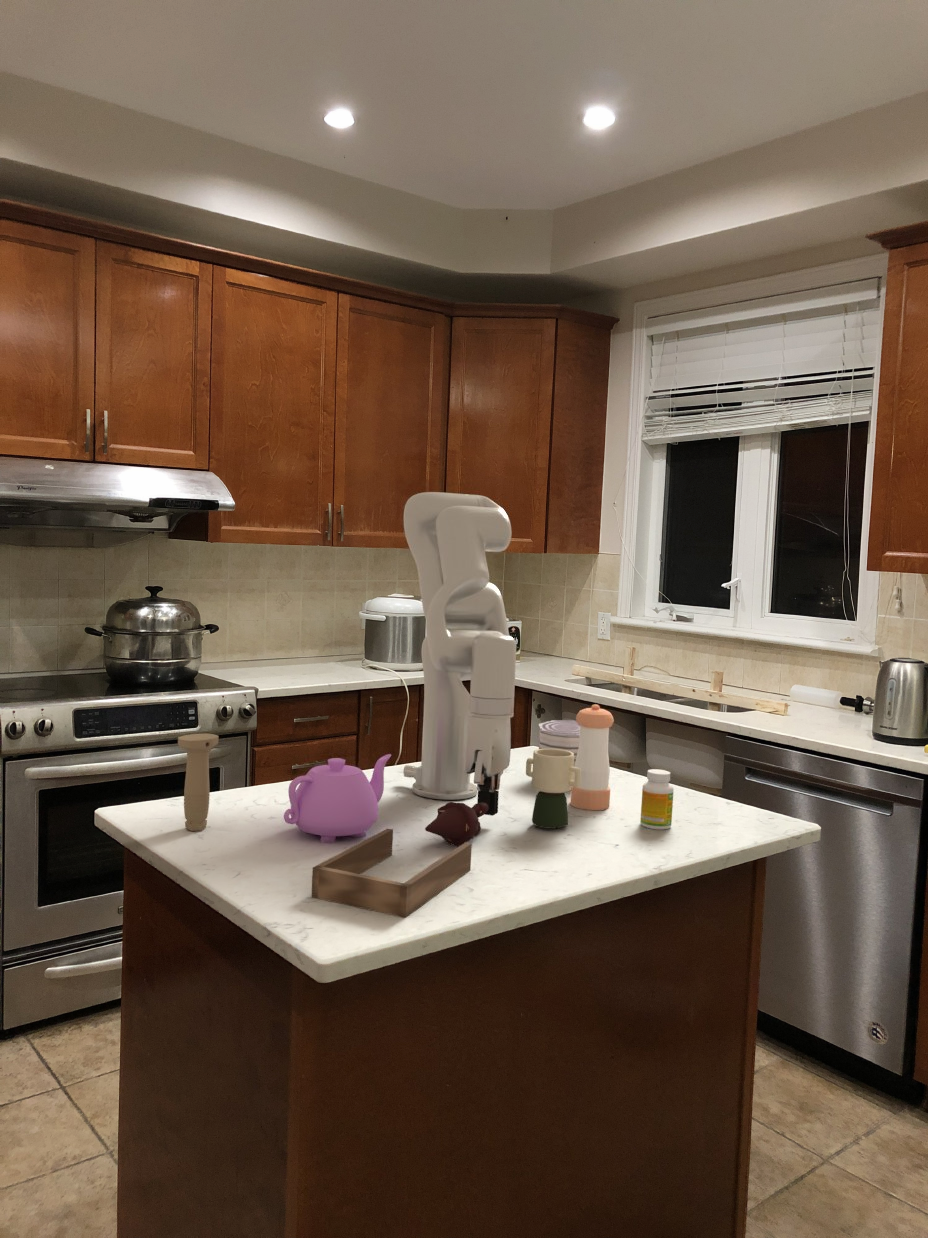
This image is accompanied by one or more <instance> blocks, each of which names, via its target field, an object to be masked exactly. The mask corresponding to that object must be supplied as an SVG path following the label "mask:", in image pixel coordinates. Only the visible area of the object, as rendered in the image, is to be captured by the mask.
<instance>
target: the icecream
mask: <svg viewBox="0 0 928 1238" xmlns="http://www.w3.org/2000/svg"><path fill="white" fill-rule="evenodd" d="M487 811H488V805H487V804H486V803H483V802H482V803H477V802H476V803H475V804H473V805H472V807H471V806H469V805H467V804H465V803H463V802H455V801H448V802H446V804H444V805H442V806H440V807H438V808H437V815H436V817H435V819H433V820H432V821H431V822H430V823H429V824H428V825H427V826H425V828H424V830H425V831H426V832H427V833H431V834H434V835H436V836H439V837H441V838H442V839H443V841H445V843H446V844H447V845H452V846H455V847H459V846H461V845H462V844H464V843H465V842H466V843H467V842H468V841H471V840H473V839H474V837H475V836H477V835H478V834H480V833H481V830H482V826H481V822H480V820H479V818H480V817H482V816H485V813H486V812H487Z"/></svg>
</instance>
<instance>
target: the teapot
mask: <svg viewBox="0 0 928 1238" xmlns="http://www.w3.org/2000/svg"><path fill="white" fill-rule="evenodd" d="M391 756H392V754H391V753H389V754H385V755H383V756H381V757H380V758H378V760H377V761H376V763H375V765H374V768H373V771H372V775H371V778H370V781H369V779H368V778H367V775H366V774H365V773H364V772H363V770H362V769H361V768H359V767H357V766H353V765H347V764H346V759H344V758H340V757H332V758H328V759H327V764H322V765H321V764H320V765H316V766H313V767H312V768H311V769H309V771H308V772H307V773H306V774H305V775H300V776H297V777H295V778H293V780H291V782H289V785H288V789H287V790H288V791H287V792H288V799H289V803H290V808H288V809H286V810H285V811H284V813H283V820H284V821H285V822H286V823H287V824H289V825H294V824H295V825H296V826H297V827H298V829H299V830H301V832H302V833H305V834H311V835H315V836H321V837H320V838H319V839H320V840H319V841H320V842H322V843H326V844H327V843H330V844H331V843H334V842H335V841H336V837H346V836H351V837H355V838H361V837H363V838H364V837H366V836H367V834H366V831H368V830H369V829H370V828H371V827H372V826H373V824H375V823H376V821H377V820H378V818H379V804H378V803H379V802H380V801H381V799H382V797H383V794H384V789H385V787H384V786H385V782H384V781H385V780H384V779H385V778H384V777H385V776H384V775H385V773H384V772H385V766H386V764H387V762H388V761H389V759H390V758H391Z"/></svg>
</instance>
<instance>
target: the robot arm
mask: <svg viewBox="0 0 928 1238" xmlns="http://www.w3.org/2000/svg"><path fill="white" fill-rule="evenodd" d="M403 529H404V530H403V531H404V535H405V539H406V542H407V544H408V548H409V549H410V552H411V555H412V558H413V559H414V562H415V565H416V569H417V575H418V581H419V582H418V583H419V590H420V597H421V604H422V610H423V614H424V615H423V616H424V619H425V620H426V622H425V628H426V629H425V631H426V636H425V637H424V638H423V641H422V644H421V662H422V671H423V684H424V685H423V687H424V688H423V690H424V693H423V694H424V695H423V696H424V697H423V698H424V699H423V719H422V720H423V721H422V722H423V723H422V739H421V740H422V742H421V762H420V763H421V764H420V765H419V766H414V765H408V764H405V766H404V768H403V776H404V777H405V778H413V779H414V780H415V782H414V783H412V785H411V788H412V790H411V791H412V792H413V794H416V795H417V796H420V797H422V798H428V799H433V800H445V801H458V800H465V799H471V798H473V797H474V796H475V797H476V795H477V801H476V804H477V803H482V802H483V803H486V804H487V805H488V811H487V812H486V813H485V814H484V816H495V815H496V814H498V812H499V794H500V793H499V790H500V788H501V787H500V786H501V776H502V775H503V774H504V771H505V770H506V769H508V768H509V766H510V763H511V762H510V760H511V750H512V748H511V745H512V744H511V743H512V741H511V740H512V739H511V738H512V735H511V734H512V731H511V718H513V717H514V714H515V713H514V708H515V684H516V683H515V681H516V662H517V661H516V660H517V642H516V640H515V638H513V637H512V636H511V635H510V632H509V626H508V621H507V614H506V610H505V604H504V603H505V602H504V599H503V596H502V594H501V591H500V590H499V588H498V587H497V586H496V585H495V584H494V583H492V582H490V572H489V568H488V562H487V557H486V552H490V553H491V552H493V553H500V552H504V551H505V550H507V548H508V547H509V546H510V543H511V540H512V525H511V520H510V518H509V516H508V514H507V513H506V511H505V510H504V508H503V507H501V506H500V505H498V504H497V503H496V502H494V501H493V500H492V499H490V498H489V497H487V496H484V495H479V494H466V493H465V494H464V493H454V492H453V493H452V492H441V491H440V492H439V491H438V492H437V491H427V492H420V493H419V492H418V493H417V494H416V493H415V494H414V495H412V496H411V497H409V498H408V499H407V500H406V503H405V505H404V510H403ZM463 680H465V681H466V680H470V691H468V690H467V688H466V687H465V686H464V684H463ZM469 692H470V693H469ZM471 774H474V776H473V783H472V782H471Z"/></svg>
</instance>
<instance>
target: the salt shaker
mask: <svg viewBox="0 0 928 1238" xmlns="http://www.w3.org/2000/svg"><path fill="white" fill-rule="evenodd" d="M575 721H577V723H578V725H580V732H579V748H578V752H577V757H576V762H575V766H574V767H577V768H579V769H580V770H581V778H580V785H579V787H575V786H572V788H571V790H570V805H571V806H572V807H574V808H577V809H580V810H588V811H602V810H606V809H609V808H610V804H611V802H610V801H611V787H610V786H609V785H610V774H611V773H610V772H611V769H610V767H611V766H610V758H609V739H610V738H609V736H610V735H609V734H610V733H609V732H610V728H612V727H613V724H614V722H615V720H614V716H613V715H612V713H611V712H610V711H608V710H606V709H604V708H601V706H600V705H599V704H596V703H595V704H592V705H591V707H586V708H583V709H580V710H579V712H577V714H576V716H575ZM574 781H575V773H574Z"/></svg>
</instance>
